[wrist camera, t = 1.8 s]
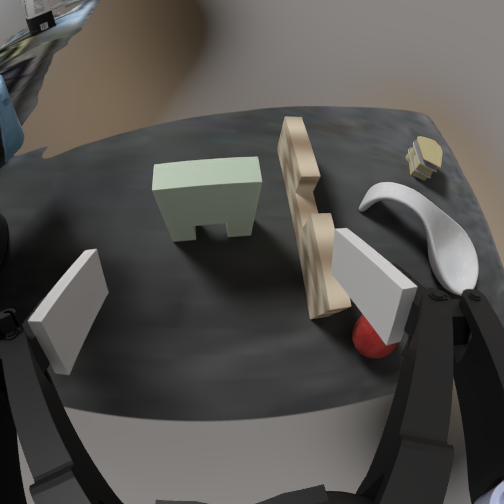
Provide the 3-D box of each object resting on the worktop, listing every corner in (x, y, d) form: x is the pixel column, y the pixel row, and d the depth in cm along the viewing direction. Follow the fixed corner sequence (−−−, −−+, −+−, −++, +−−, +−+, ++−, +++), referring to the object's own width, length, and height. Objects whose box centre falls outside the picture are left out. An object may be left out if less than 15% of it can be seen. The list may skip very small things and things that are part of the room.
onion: (352, 306, 34) (383, 292, 27) (387, 324, 34) (422, 314, 26) (335, 348, 32) (364, 344, 25) (371, 365, 32) (407, 364, 24)
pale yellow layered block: (437, 195, 43) (453, 180, 38) (398, 178, 43) (414, 160, 38) (430, 157, 47) (444, 141, 42) (395, 140, 47) (407, 122, 42)
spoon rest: (470, 256, 39) (496, 241, 33) (457, 313, 35) (488, 303, 29) (372, 178, 42) (392, 151, 36) (346, 230, 38) (367, 205, 32)
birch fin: (328, 316, 33) (351, 306, 27) (310, 319, 33) (329, 309, 27) (291, 148, 42) (301, 117, 36) (277, 148, 42) (284, 116, 36)
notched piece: (173, 241, 35) (152, 190, 24) (172, 220, 36) (154, 164, 25) (251, 235, 36) (262, 181, 25) (248, 214, 37) (257, 156, 26)
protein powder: (48, 30, 63) (34, -20, 35) (23, 37, 64) (8, -7, 36) (63, 20, 67) (51, -29, 39) (37, 27, 68) (24, -16, 40)
